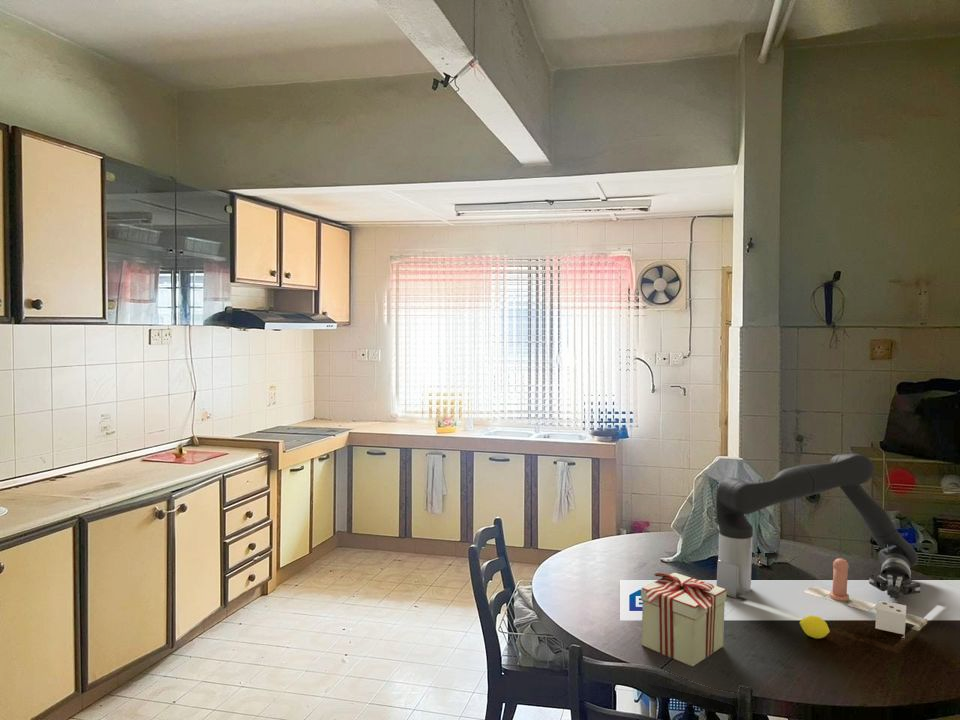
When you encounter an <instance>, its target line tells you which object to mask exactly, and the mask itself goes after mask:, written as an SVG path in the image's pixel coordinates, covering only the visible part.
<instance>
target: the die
mask: <svg viewBox="0 0 960 720" xmlns="http://www.w3.org/2000/svg"><path fill="white" fill-rule="evenodd" d="M876 607H877V608H876ZM876 607H875V608H876V614H875V629H877V630H881V631H886V632H890V633H895V634H900V635H903V636H902V637H901V638H904V639H905V636H906V634H905V633H906V624H907V623H906V613H907V605H906V604H900V603H896V602H890V601H885V600H881V599H880V600H879V599H877V603H876Z"/></svg>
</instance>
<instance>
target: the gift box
mask: <svg viewBox="0 0 960 720" xmlns="http://www.w3.org/2000/svg"><path fill="white" fill-rule="evenodd" d="M654 576H655V577H661V578H659V579H657V580H656V581H653V582H652V583H650V584H648V585H646V586H644V587H642V588H641V589H640V591H641V592H640V600H641V601H642V609H641V610H642V615H641V621H642V623H641V646H642V647H645V648H647V649H650V650H652V651H654V652H656V653H659V654H660V655H663V656H666V657H668V658H671V659H673V660H675V661H677V662H680V663H682V664H685V665H687V666H689V667H695V666H696V665H698V664H699V663H701V662H702V661H704V660H705V659H707V658H709V657H710V656H711V655H713V654H714V653H715V652H717V651H719V650H721V648H723V647H724V636H725V635H724V633H725V632H724V627H725V602H727V595H726V589H724V588H721V587H718V586H717V585H714V584H711V583H708V582H705V581H703V580H701V579H696V578H693V577H690V576H687V575H684V574H681V573H677V572H671V573H670V574H669V573H668V574H667V573H660V572H656V573H654Z"/></svg>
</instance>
